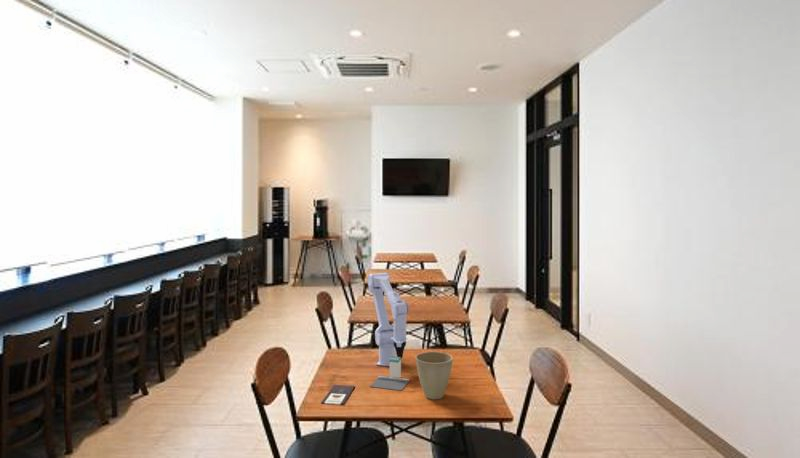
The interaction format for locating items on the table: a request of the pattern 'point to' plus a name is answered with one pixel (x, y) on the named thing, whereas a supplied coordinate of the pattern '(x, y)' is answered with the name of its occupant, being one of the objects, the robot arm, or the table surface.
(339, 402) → the chocolate bar
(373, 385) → the mat
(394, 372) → the tall block
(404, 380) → the stop rail
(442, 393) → the plant pot
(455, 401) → the table surface
